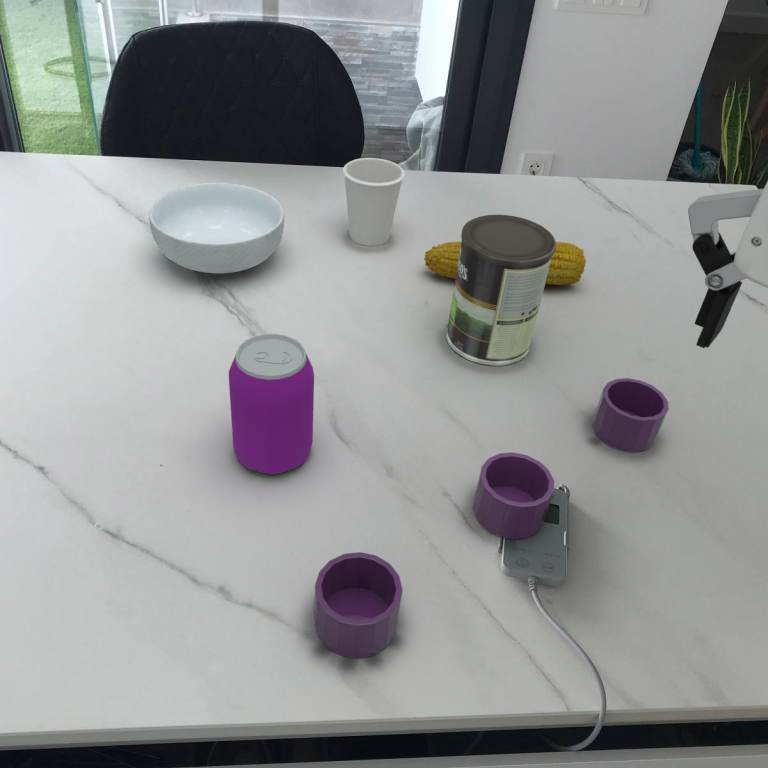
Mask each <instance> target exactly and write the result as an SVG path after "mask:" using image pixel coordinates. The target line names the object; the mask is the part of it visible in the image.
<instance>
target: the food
mask: <svg viewBox="0 0 768 768" xmlns="http://www.w3.org/2000/svg"><path fill="white" fill-rule="evenodd" d="M460 248H461V241H452V242H445V243H442V244H438V245H436V246H435V245H433V246H432V247H431V249H429V250H427V251H425V254H424V258H423V260H424V261H425V266H426V267H427V269H428V270H429V271H430V272H431V271H432V272H434V273H435V274H437V275H440V276H442V277H446V278H450V279H456V273H457V267H458V261H459V254H460ZM586 262H587V259H586V258H585V255H584V249H582V248H580V247H579V246H577V245H575V244H574V243H570V242H565V241H556V248H555V251H554V254H553V256H552V258H551V263H550V267H549V271H548V274H547V278H546V282H545V285H555V286H559V285H560V286H561V285H562V286H563V285H574V284H576V283H578V282H580V279H582V275H583V274H584V272H585V268H586Z"/></svg>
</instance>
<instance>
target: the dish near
mask: <svg viewBox="0 0 768 768" xmlns="http://www.w3.org/2000/svg"><path fill="white" fill-rule="evenodd" d="M402 596H403V586H402V582H401V577H400V575H399V574H398V572H397V571H396V570H395V568H394V567H393V566H392V565H391V563H390V562H388V561H387V560H384V559H383V558H381V557H379V556H378V555H375V554H371V553H366V552H362V551H360V552H348V553H347V552H346V553H342V554H341V555H339V556H336V557H334V558H332V559H330V560H329V561H328V562H327V563H326V564H325V565H324V566H323V567H322V568H321V569H320V570H319V572H318V575H317V578H316V581H315V584H314V601H313V602H314V604H313V606H314V607H313V617H314V618H313V619H314V621H313V622H314V629H315V632H316V635H317V637H318V639H319V640H320V641H321V643H322V644H323V645H324V646H325V647H326V648H327V649H329V650H330V651H331V652H333V653H334V654H337V655H339V656H341V657H345V658H348V659H349V658H350V659H363V658H369V657H371V656H374V655H376V654H379V653H380V652H382V651H383V650H385V648H387V647H388V646H389V644H390V643H391V642H392V641H393V639H394V637H395V635H396V632H397V627H398V622H399V616H400V611H401V603H402V598H403V597H402Z"/></svg>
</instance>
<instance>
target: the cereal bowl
mask: <svg viewBox="0 0 768 768" xmlns="http://www.w3.org/2000/svg"><path fill="white" fill-rule="evenodd" d="M148 221H149V222H148V223H149V226H150V227H149V228H150V231H151V235H152V238H153V240H154V242H155V244H156V246H157V248H158V249H159V250H160V252H162V253H163V255H164V256H165V257H166V258H168V259H169V260H171V261H172V262H174V263H175V264H177V265H179V266H180V267H184V268H185V269H189V270H192V271H195V272H200V273H206V274H207V273H208V274H210V273H211V274H220V275H221V274H230V273H238V272H242V271H245V270H248V269H252V268H253V267H256V266H258V265H260V264H261V263H263V262H265V261H266V260H267V259H268V258H269V257H271V256H272V255H273V253H275V251H276V250H277V248H278V247H279V245H280V243H281V240H282V238H283V233H284V227H285V210H284V208H283V206H282V205H281V203H280V202H279V201H278V200H277V199H276V198H275V197H274V196H272V195H271V194H270V193H267V192H265V191H263V190H260V189H258V188H255V187H252V186H249V185H244V184H239V183H233V182H232V183H231V182H217V181H216V182H200V183H193V184H188V185H185V186H180V187H177V188H174V189H172V190H170V191H168V192H166V193H164V194H162V195H161V196H159V197H158V198H156V200H154V202H153V203H152V204H151V206H150V208H149V211H148Z"/></svg>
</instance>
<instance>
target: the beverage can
mask: <svg viewBox="0 0 768 768" xmlns="http://www.w3.org/2000/svg"><path fill="white" fill-rule="evenodd" d="M228 387H229V388H228V389H229V402H230V417H231V419H230V420H231V433H232V449H233V453H234V454H235V456H236V458H237V460H238V461H239V462H240V463H241V464H242V465H243V466H245V467H246V468H247V469H249V470H252V471H255V472H258V473H262V474H263V473H264V474H269V475H272V474H281V473H285V472H288V471H291V470H294V469H296V468H297V467H299V466H300V465H303V463H304V462H305V461H306V460H307V459H308V458H309V456H310V454H311V450H312V447H313V442H314V441H313V440H314V439H313V437H314V399H315V398H314V397H315V371H314V366H313V365H312V362H311V361H310V359H309V356H308V354H307V352H306V348H305V347H304V345H302V343H301V342H300V341H298V340H297V339H295V338H294V337H291V336H288V335H285V334H280V333H262V334H258V335H253V336H252V337H249V338H248V339H245V340H244V341H243V342H242V343H240V344H239V345H238V347H237V348H236V352H235V355H234V358H233V359H232V362H231V365H230V367H229V370H228Z"/></svg>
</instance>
